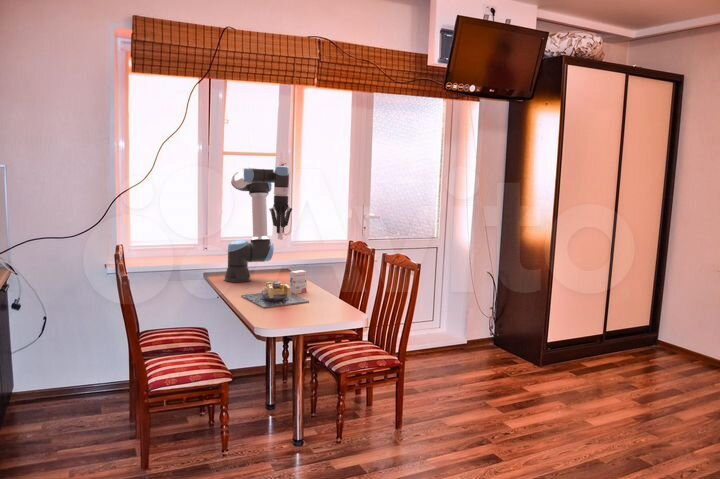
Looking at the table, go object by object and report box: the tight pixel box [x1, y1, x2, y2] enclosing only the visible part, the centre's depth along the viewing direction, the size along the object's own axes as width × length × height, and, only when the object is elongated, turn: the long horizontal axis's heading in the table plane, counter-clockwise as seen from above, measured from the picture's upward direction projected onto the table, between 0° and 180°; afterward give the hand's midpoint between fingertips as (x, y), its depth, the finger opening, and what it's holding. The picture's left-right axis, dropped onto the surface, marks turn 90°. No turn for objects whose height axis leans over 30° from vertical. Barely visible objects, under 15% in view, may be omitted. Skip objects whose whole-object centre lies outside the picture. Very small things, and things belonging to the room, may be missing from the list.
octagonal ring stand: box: [263, 281, 290, 298], centre depth 302 cm, size 18×11×5 cm, turn 20°
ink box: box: [289, 270, 308, 295], centre depth 324 cm, size 9×5×12 cm, turn 134°
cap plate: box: [240, 281, 310, 309], centre depth 306 cm, size 26×26×9 cm
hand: (280, 239), depth 314 cm, fingers closed
